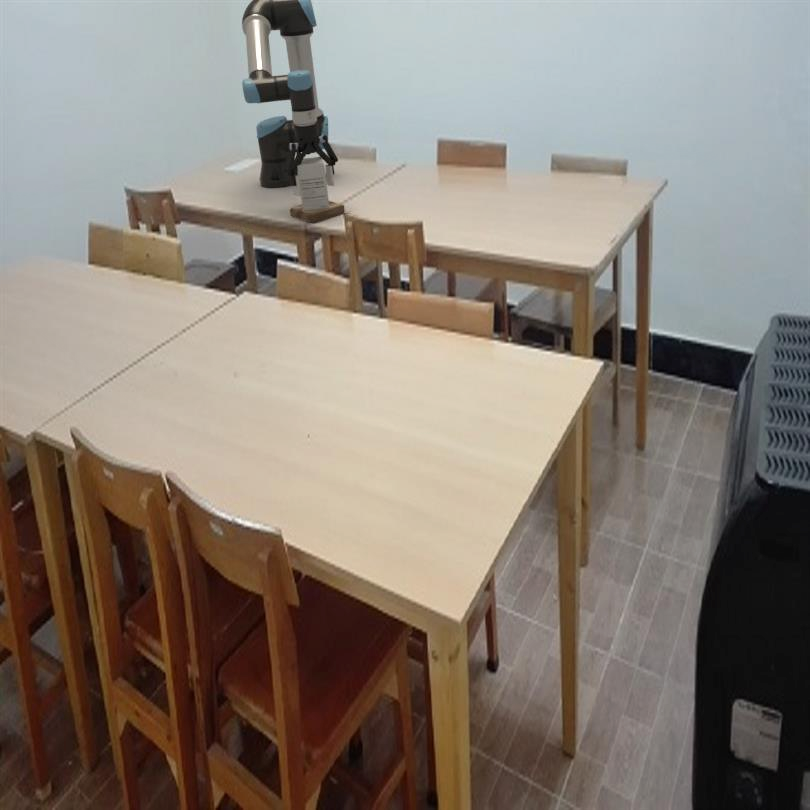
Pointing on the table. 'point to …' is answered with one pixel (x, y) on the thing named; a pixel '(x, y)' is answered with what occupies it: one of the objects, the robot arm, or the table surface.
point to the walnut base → (317, 212)
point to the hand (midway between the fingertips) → (314, 190)
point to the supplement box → (313, 184)
